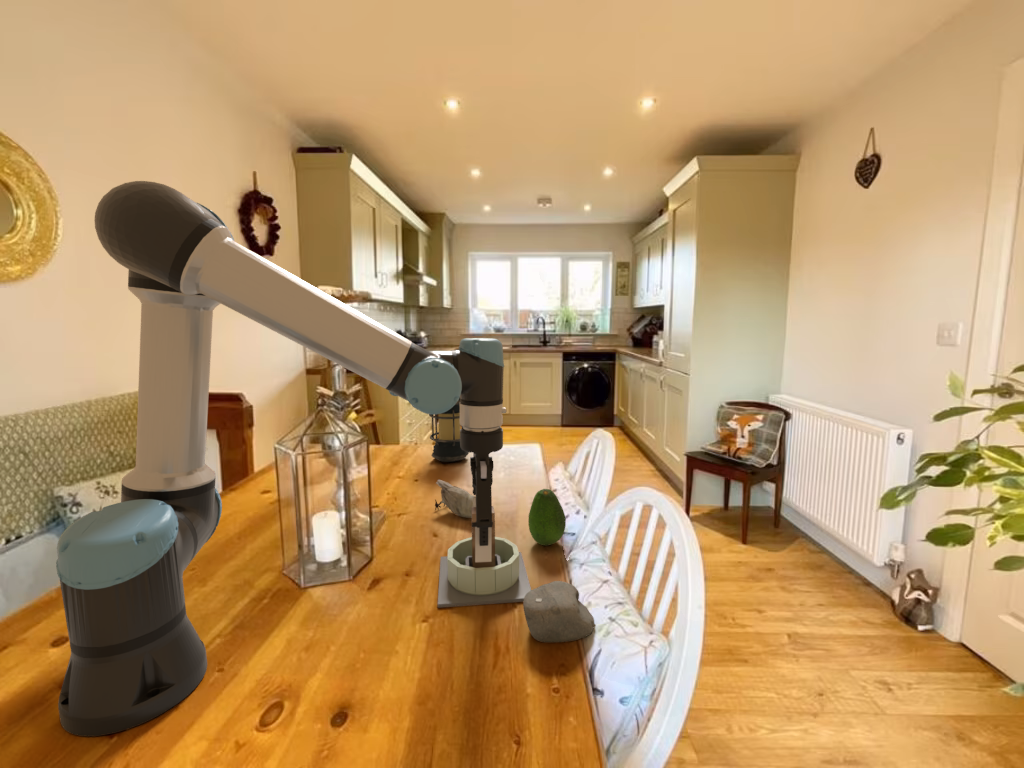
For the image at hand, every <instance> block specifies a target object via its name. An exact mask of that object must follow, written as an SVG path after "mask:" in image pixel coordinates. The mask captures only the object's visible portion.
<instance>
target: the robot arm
mask: <svg viewBox="0 0 1024 768" xmlns="http://www.w3.org/2000/svg"><path fill="white" fill-rule="evenodd" d="M94 229H95V231H96V235H97V239H98V240H99V242H100V244H101V246H102V248H103V249H104V251H106V253H107V254H108V256H110V257H111V258H112V259H113V260H114V261H115V262H117V263H118V264H119V265H120V266H123V267H124V268H126V269H127V270H128V271H127V272H128V273H127V274H128V275H127V276H128V277H127V278H128V280H127V281H128V282H127V289H128V291H130V293H132V295H134V296H135V297H136V298H137V299H138V300H139V301H140V304H141V307H140V308H141V309H140V335H139V366H138V387H137V388H138V389H137V390H138V393H137V395H138V396H137V422H136V449H135V466H134V467H133V469H132V470H130V471H129V472H128V473H127V474H125V475H124V476H122V478H121V493H120V502H117V503H113V504H110V505H106V506H103V507H102V508H101V510H97V511H95V510H94V511H91V512H89V513H87V514H85V515H83V516H81V517H79V518H78V519H76V520H74V522H73V523H71V524H70V525H68V526H67V528H66V529H65V530H64V531H63V532H62V533H61V535H60V536H59V539H58V541H57V547H56V550H57V551H56V552H57V560H56V562H55V563H56V572H57V576H58V578H59V584H60V589H61V590H60V591H61V596H62V601H63V602H62V603H63V610H64V615H65V621H66V627H67V635H68V640H69V641H68V642H69V646H70V647H69V648H70V657H69V660H68V665H67V668H66V672H65V674H64V678H63V682H62V686H61V690H60V694H59V697H58V701H57V702H58V703H57V705H58V706H57V708H58V714H59V720H60V724H61V727H62V728H63V730H65V731H66V732H68V733H69V734H72V735H75V736H80V737H97V736H98V737H99V736H106V735H110V734H111V735H112V734H115V733H118V732H119V733H120V732H122V731H125V730H129V729H131V728H134V727H137V726H140V725H142V724H145V723H146V722H149V721H151V720H152V719H154V718H157V717H159V716H160V715H162V714H165V712H167V711H168V710H170V709H172V708H174V707H175V706H176V705H178V704H179V703H180V702H182V701H183V700H184V699H185V698H187V697H188V696H189V695H190V694H191V693H192V692H193V691H194V690H195V689H196V688H197V686H199V684H200V683H201V681H202V680H203V678H204V676H205V675H206V672H207V668H208V659H207V658H208V657H207V649H206V645H205V644H204V642H203V641H202V639H201V638H200V636H199V634H198V632H197V630H196V629H195V627H194V625H193V624H192V621H190V619H189V617H188V615H187V609H186V599H185V589H184V581H183V580H184V578H183V577H184V576H183V575H184V571H186V569H187V568H188V566H190V563H191V562H192V561H193V559H195V557H196V555H198V553H199V552H200V550H201V549H202V548H203V546H204V545H205V544H206V543H207V542H208V541H209V540H210V539H211V538H212V536H213V535H214V534H215V532H216V530H217V527H218V525H219V524H220V521H221V517H222V511H223V510H222V509H223V503H222V497H221V495H220V493H219V491H218V489H217V488H216V472H215V470H213V469H212V468H211V467H210V466H209V465H208V464H207V463H206V452H207V450H206V449H207V436H208V435H207V432H208V414H209V393H210V378H211V377H210V376H211V375H210V374H211V371H210V370H211V358H212V357H211V356H212V355H211V354H212V336H213V335H212V334H213V317H214V310H215V308H217V307H218V306H219V305H223V306H225V307H227V308H228V309H230V310H233V311H234V312H236V313H238V314H240V315H243V316H244V317H246V318H248V319H250V320H252V321H253V322H256V323H257V324H260V325H261V326H263V327H265V328H267V329H269V330H271V331H273V332H275V333H277V334H279V335H280V336H283V337H285V338H286V339H288V340H291V341H292V342H294V343H297V344H299V345H300V346H302V347H304V348H306V349H308V350H310V351H312V352H314V353H315V354H318V355H319V356H322V358H323V357H324V358H325V359H326V360H329V361H330V362H333V363H335V364H336V365H339V366H340V367H343V368H345V369H346V370H348V371H351V372H352V373H355V374H356V375H359V376H360V377H362V378H363V379H366V380H367V381H370V382H372V383H373V384H374V385H377V386H379V387H381V388H383V389H385V390H387V391H388V392H389V394H390V395H391V396H393V397H399V398H401V399H403V400H405V401H406V402H408V403H409V404H410V405H411V406H412V407H413V408H414V409H416V410H418V411H419V412H422V413H424V414H427V415H429V414H433V416H435V414H437V415H438V414H441V413H444V412H446V411H448V410H450V409H451V408H452V407H453V406H454V405H455V404H456V403H457V401H458V400H459V397H460V425H461V429H460V447H461V449H462V450H464V451H466V452H469V454H470V453H472V454H473V456H470V459H469V464H470V472H471V476H472V477H471V478H472V480H471V481H472V484H471V485H472V486H471V488H472V495H473V496H474V497H473V507H476V522H472V521H471V528H472V527H475V562H491V552H492V525H493V522H492V504H493V503H492V501H493V500H492V485H493V482H494V481H493V479H494V478H493V472H494V460H493V456H490V454H491V453H496V452H498V451H500V450H502V449H503V446H504V429H503V428H502V427H501V426H502V425H503V424H504V422H503V421H504V418H503V417H504V415H503V414H506V413H507V408H506V407H504V404H503V402H504V369H505V363H504V348H503V347H504V346H503V342H501V341H500V340H499V339H497V338H491V337H490V338H489V337H488V338H487V337H474V338H473V337H472V338H469V337H466V338H461V339H460V341H459V346H458V349H454V350H427V349H425V348H424V347H422V346H420V345H418V344H416V343H414V342H412V340H410V339H408V338H406V337H404V336H402V335H401V334H399V333H397V332H396V331H393V330H392V329H390V328H388V327H387V326H384V325H383V324H381V323H380V322H378V321H376V320H374V319H372V318H370V317H369V316H367V315H365V314H363V312H360V311H358V310H357V309H355V308H353V307H351V306H349V305H347V304H346V303H344V302H342V301H341V300H339V299H337V298H335V297H334V296H331V295H330V294H328V293H326V292H324V290H321V289H319V288H318V287H316V286H314V285H312V284H310V283H309V282H307V281H305V280H303V279H301V278H300V277H299V276H297V275H295V274H293V273H291V272H289V271H288V270H286V269H284V268H282V267H281V266H279V265H277V264H275V263H273V262H272V261H270V260H268V259H267V258H264V257H263V256H261V255H259V254H258V253H256V252H254V251H252V250H250V249H249V248H247V247H245V246H244V245H242V244H240V243H238V242H236V241H235V239H234V237H233V236H234V235H232V232H231V231H230V229H229V227H228V226H227V225H226V223H225V222H224V221H223V220H222V219H221V218H220V216H218V215H217V214H216V213H215V211H213V210H211V209H210V208H208V207H207V206H204V205H203V204H201V203H198V202H196V201H194V200H192V199H191V198H190V197H188V196H187V195H185V194H183V193H182V192H180V191H179V190H177V189H176V188H173V187H171V186H169V185H166V184H163V183H159V182H155V181H148V180H135V181H129V182H124V183H122V184H119V185H117V186H115V187H112V188H111V189H110V190H108V192H106V194H104V195H103V196H102V197H101V198H100V200H99V202H98V204H97V207H96V209H95V212H94ZM462 426H463V427H462Z"/></svg>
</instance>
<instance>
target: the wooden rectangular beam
mask: <svg viewBox="0 0 1024 768" xmlns="http://www.w3.org/2000/svg"><path fill="white" fill-rule="evenodd" d="M494 508H495V507H494V505H493V506H492V522H493V525H492V552H491V562H475V527H472V526H471V537H472V567H474V568H484V567H495V537H496V520H495V519H496V518H495V517H496V516H495V515H496V512H495V509H494ZM470 519H471V523H472V522H476V507H471V518H470Z"/></svg>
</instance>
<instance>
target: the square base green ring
mask: <svg viewBox="0 0 1024 768" xmlns="http://www.w3.org/2000/svg"><path fill="white" fill-rule="evenodd" d="M438 579H439V581H438V590H437V591H438V592H437V593H438V594H437V608H450V607H452V608H453V607H454V608H455V607H465V606H466V607H467V606H478V605H481V606H483V605H493V604H497V605H498V604H508V603H509V604H510V603H523V601H524V597H525V595H526V594H527V593H528V592H529V591H531V590H532V587H531V584H530V580H529V576H528V572H527V568H526V565H525V561H524V558H523V553H522V552H521V551H519V548H518V545H517V544H515V543H514V542H512V541H511V540H509V539H508V538H503V537H500V536H499V537H498V536H495V567H484V568H474V567H472V536H471V537H467V538H464V539H461V540H458V541H456V542H455V543H453V544H452V545H451V546H450V547H449V548H447V556H440V563H439V578H438Z"/></svg>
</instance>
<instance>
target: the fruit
mask: <svg viewBox="0 0 1024 768" xmlns="http://www.w3.org/2000/svg"><path fill="white" fill-rule="evenodd" d="M566 525H567V523H566V515H565V512H564V509H563V507H562V504H561V503H560V500H559V498H558V496H557V494H556V493H555V492H554V491H552V489H549V488H543V489H540V490H537V492H536V493H535V495H534V497H533V500H532V502H531V506H530V508H529V512H528V528H529V529H528V530H529V533H530V535H531V537H532V539H534V541H535V543H537V544H539V545H541V546H551V545H554V544H556V543H558V542H559V541H560V540H561V539H562V537H563V535H564V533H565V531H566Z"/></svg>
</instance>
